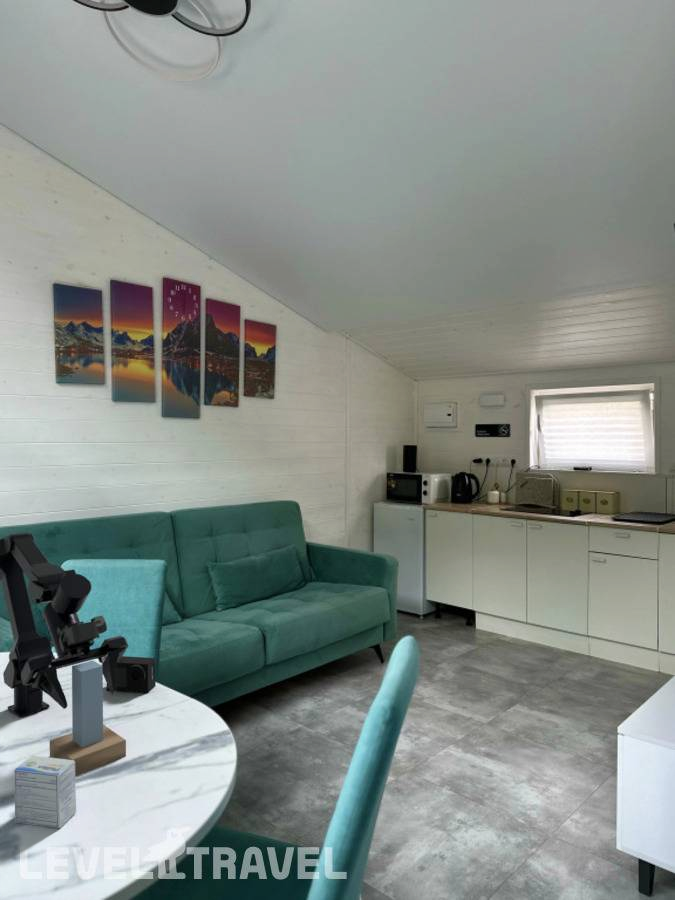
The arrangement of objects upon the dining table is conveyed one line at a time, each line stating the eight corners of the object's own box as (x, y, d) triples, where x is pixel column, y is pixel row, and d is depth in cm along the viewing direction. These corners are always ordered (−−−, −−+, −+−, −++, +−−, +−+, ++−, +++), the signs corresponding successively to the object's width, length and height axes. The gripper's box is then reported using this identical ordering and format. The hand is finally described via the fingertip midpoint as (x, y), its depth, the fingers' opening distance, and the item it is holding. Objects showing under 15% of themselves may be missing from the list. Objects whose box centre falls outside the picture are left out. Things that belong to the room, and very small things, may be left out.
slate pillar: (72, 740, 118) (71, 666, 118) (93, 733, 121) (92, 660, 121) (82, 747, 116) (81, 671, 115) (103, 740, 119) (102, 665, 118)
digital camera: (103, 693, 148) (103, 663, 147) (114, 684, 153) (114, 655, 153) (145, 695, 146) (145, 665, 146) (155, 686, 151) (155, 657, 151)
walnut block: (49, 756, 118) (49, 740, 118) (101, 737, 126) (101, 723, 126) (72, 776, 112) (72, 759, 111) (125, 755, 119) (125, 740, 119)
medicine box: (77, 813, 101) (76, 759, 101) (59, 830, 97) (58, 774, 96) (33, 807, 102) (32, 754, 102) (13, 824, 98) (13, 768, 98)
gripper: (26, 614, 114) (51, 692, 106) (123, 595, 127) (152, 664, 120) (10, 647, 120) (33, 724, 112) (105, 625, 133) (131, 693, 126)
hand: (90, 699), depth 117 cm, fingers open, 9 cm apart
